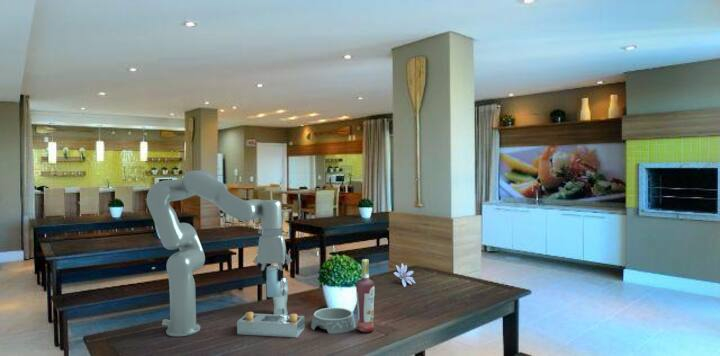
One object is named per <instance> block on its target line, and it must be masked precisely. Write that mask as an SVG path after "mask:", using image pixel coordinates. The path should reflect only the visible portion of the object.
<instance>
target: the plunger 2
mask: <svg viewBox="0 0 720 356" xmlns="http://www.w3.org/2000/svg"><path fill="white" fill-rule="evenodd" d="M288 315H289V318H290V323H296V322H297V316H298V314H297V313H290V314H288Z"/></svg>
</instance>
